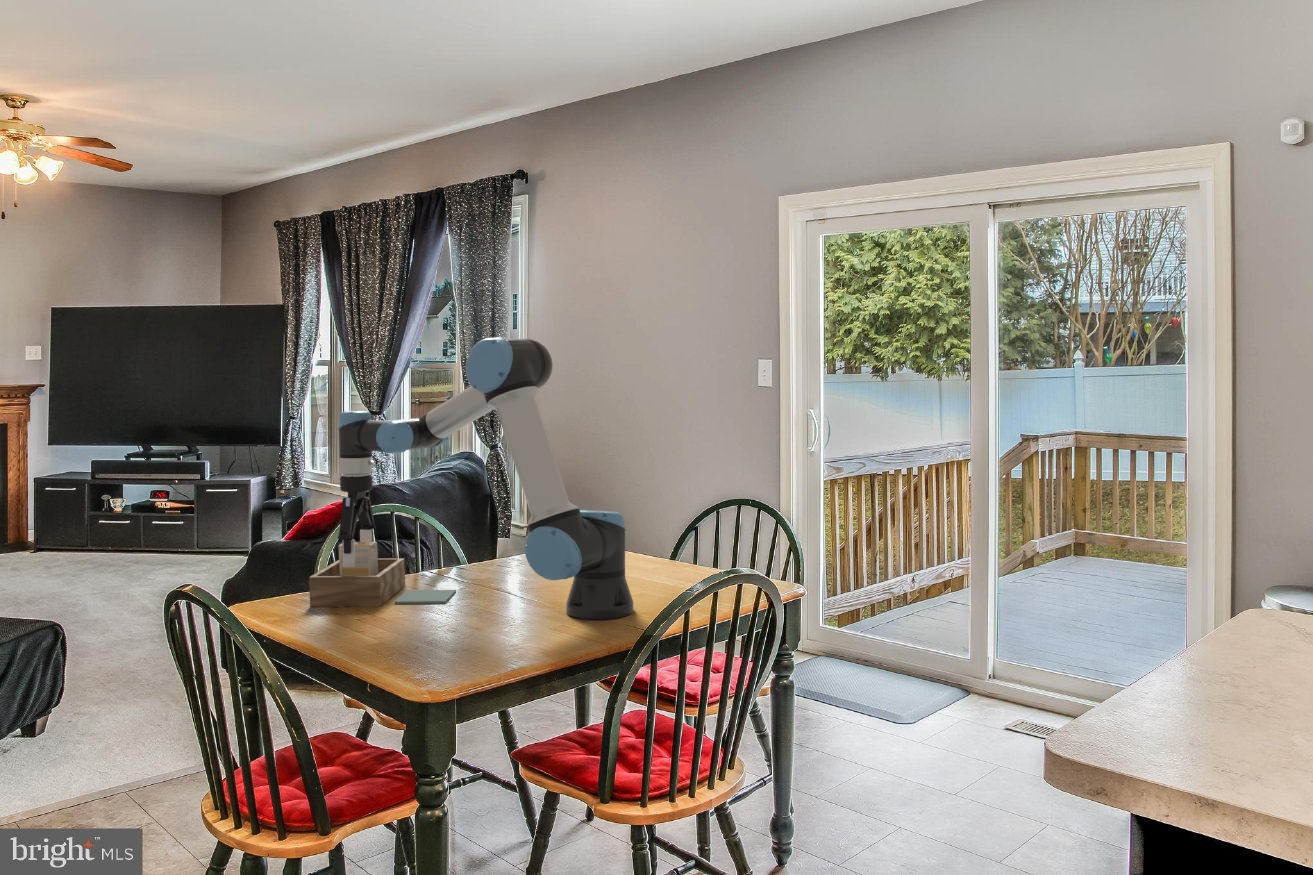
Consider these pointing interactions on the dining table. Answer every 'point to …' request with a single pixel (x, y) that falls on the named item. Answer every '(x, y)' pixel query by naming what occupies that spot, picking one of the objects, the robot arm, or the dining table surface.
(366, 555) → the supplement box
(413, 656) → the dining table surface
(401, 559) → the crate
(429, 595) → the mat
